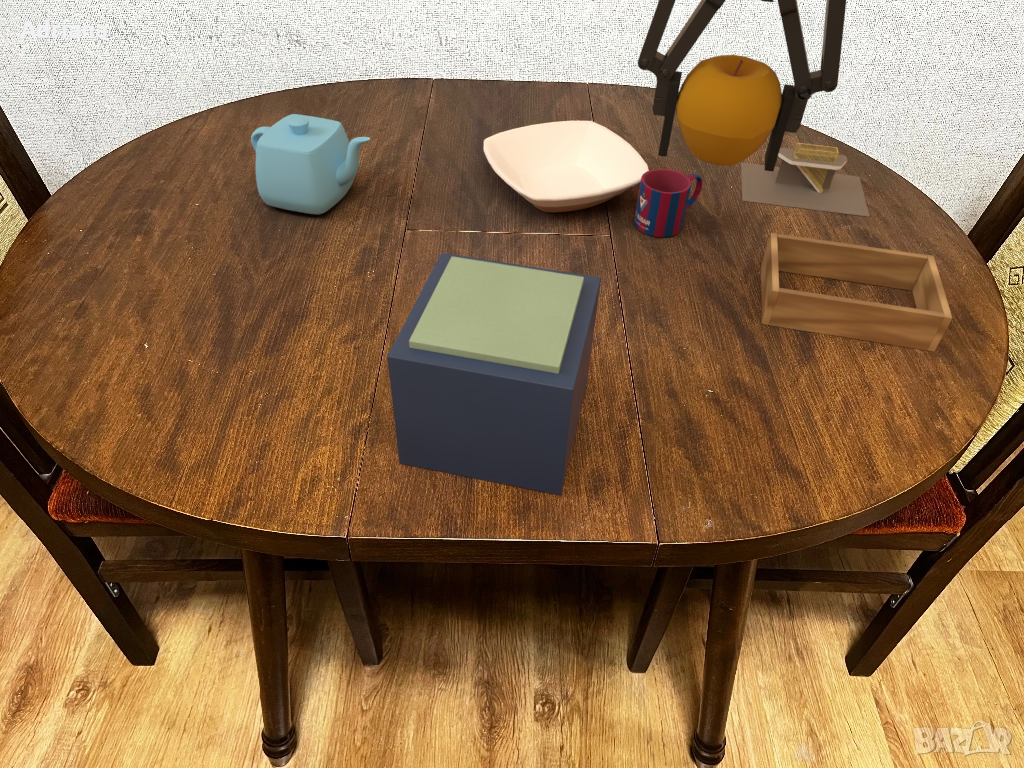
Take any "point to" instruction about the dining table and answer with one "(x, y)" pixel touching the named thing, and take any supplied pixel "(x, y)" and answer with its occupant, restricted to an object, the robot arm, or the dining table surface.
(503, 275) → the mat
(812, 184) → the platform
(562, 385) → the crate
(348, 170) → the teapot
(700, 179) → the mug
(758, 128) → the apple
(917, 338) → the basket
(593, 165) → the bowl
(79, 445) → the dining table surface
